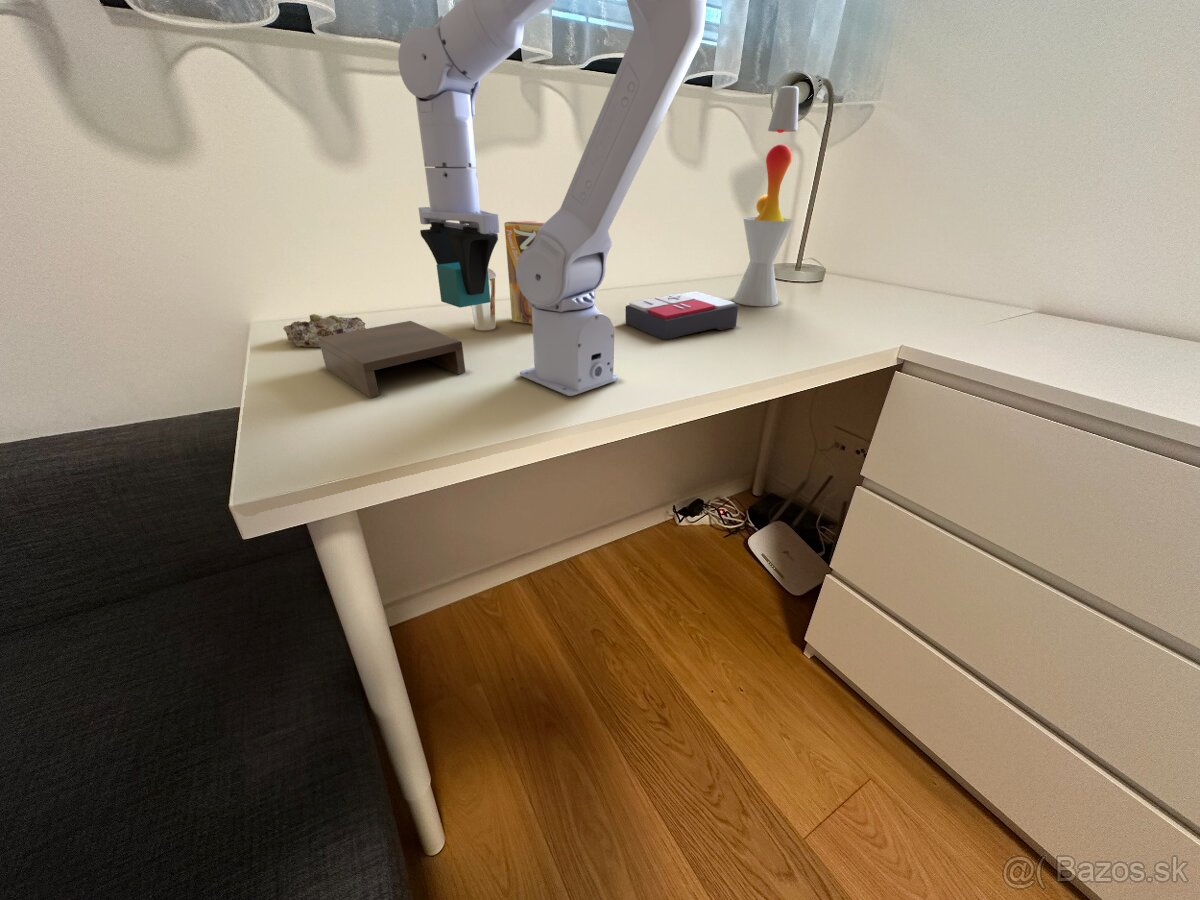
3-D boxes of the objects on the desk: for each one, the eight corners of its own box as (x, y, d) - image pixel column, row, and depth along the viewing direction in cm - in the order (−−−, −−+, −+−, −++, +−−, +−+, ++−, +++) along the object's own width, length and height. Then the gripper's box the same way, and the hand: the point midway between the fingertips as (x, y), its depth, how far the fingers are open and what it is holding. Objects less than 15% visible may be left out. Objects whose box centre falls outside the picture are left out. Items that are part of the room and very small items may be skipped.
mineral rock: (286, 336, 68) (277, 307, 72) (293, 364, 71) (283, 335, 75) (372, 328, 73) (358, 302, 78) (375, 354, 76) (361, 327, 81)
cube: (490, 302, 65) (487, 265, 63) (459, 307, 62) (455, 269, 60) (471, 296, 68) (467, 261, 66) (441, 301, 65) (436, 264, 63)
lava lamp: (788, 305, 98) (830, 84, 82) (745, 307, 97) (779, 81, 80) (764, 295, 106) (798, 91, 89) (724, 297, 104) (751, 89, 87)
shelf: (465, 372, 63) (462, 341, 62) (370, 398, 56) (363, 363, 54) (415, 349, 71) (410, 320, 70) (325, 368, 64) (317, 337, 62)
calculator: (624, 300, 83) (695, 287, 90) (624, 326, 86) (694, 312, 92) (665, 315, 75) (740, 300, 82) (664, 344, 77) (737, 326, 84)
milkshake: (461, 330, 80) (453, 263, 75) (483, 322, 84) (477, 258, 79) (484, 334, 78) (477, 266, 73) (505, 326, 82) (500, 261, 78)
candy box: (569, 322, 85) (567, 222, 78) (557, 328, 82) (554, 224, 74) (523, 316, 88) (517, 219, 81) (510, 322, 85) (503, 221, 77)
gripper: (388, 167, 60) (407, 285, 67) (453, 168, 51) (468, 305, 58) (442, 167, 64) (455, 279, 71) (510, 169, 55) (518, 296, 62)
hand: (464, 290), depth 65 cm, fingers closed on cube, 4 cm apart
